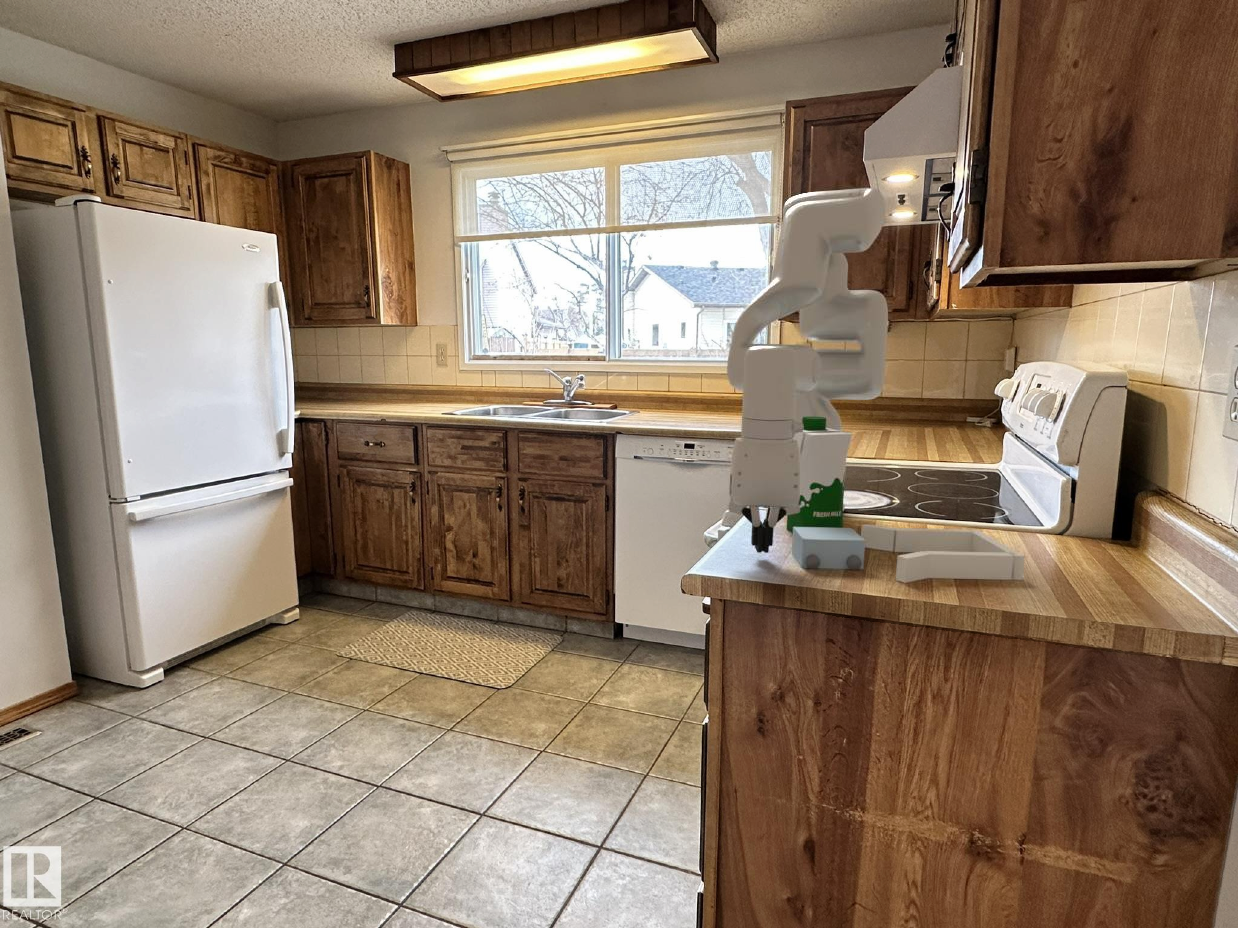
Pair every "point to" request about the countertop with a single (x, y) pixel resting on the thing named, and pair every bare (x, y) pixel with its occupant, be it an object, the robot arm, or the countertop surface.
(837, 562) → the grey boxy piece
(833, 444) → the milk carton
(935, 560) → the bay
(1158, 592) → the countertop surface
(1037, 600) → the countertop surface
